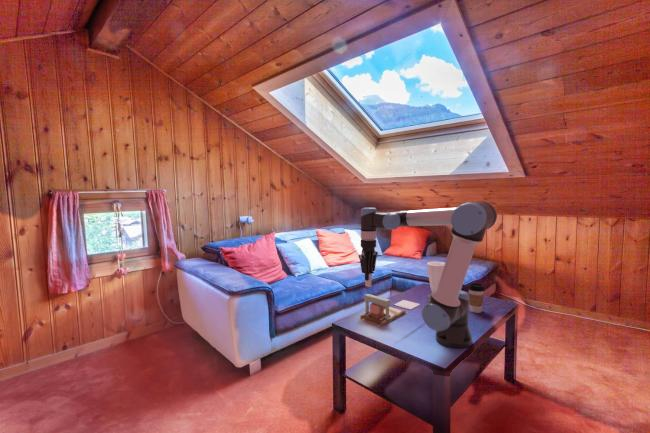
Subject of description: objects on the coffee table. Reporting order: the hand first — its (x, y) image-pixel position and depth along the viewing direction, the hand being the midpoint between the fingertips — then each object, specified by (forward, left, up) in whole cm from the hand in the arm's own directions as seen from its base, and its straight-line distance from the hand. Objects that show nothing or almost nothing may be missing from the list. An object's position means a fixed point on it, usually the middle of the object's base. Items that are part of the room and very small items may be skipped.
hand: (368, 286), depth 161 cm
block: (+6, -4, -19) cm, 20 cm away
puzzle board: (+11, -6, -20) cm, 24 cm away
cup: (+52, -34, -21) cm, 66 cm away
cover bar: (+6, -4, -17) cm, 19 cm away
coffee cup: (+34, -54, -21) cm, 68 cm away
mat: (+34, -17, -20) cm, 44 cm away
